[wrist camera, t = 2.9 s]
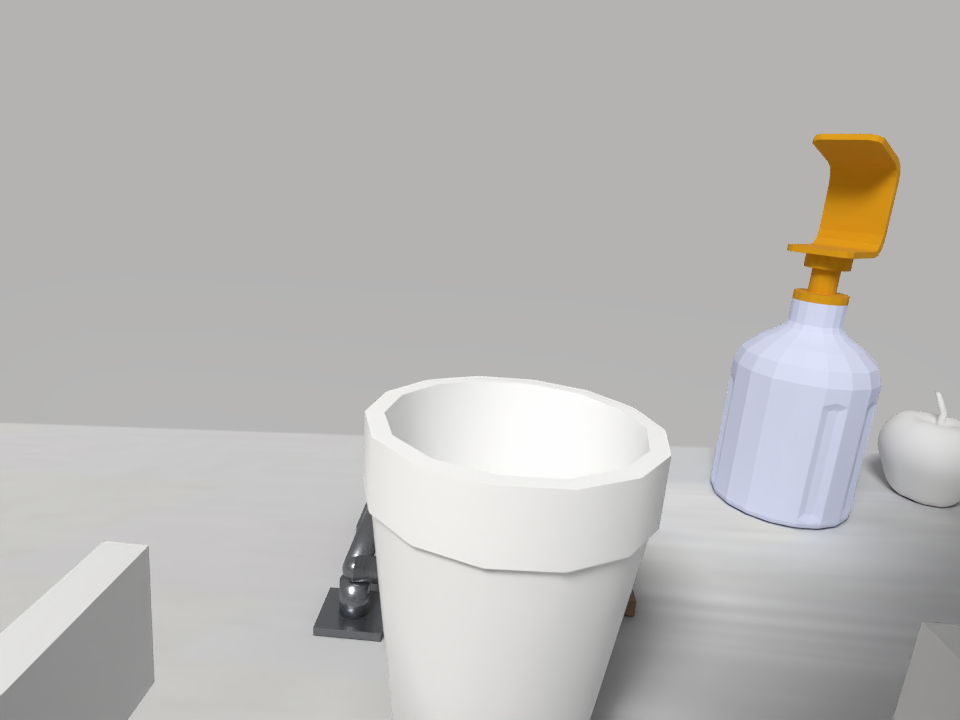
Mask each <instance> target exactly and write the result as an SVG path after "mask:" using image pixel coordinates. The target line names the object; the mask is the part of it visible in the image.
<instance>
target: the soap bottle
mask: <svg viewBox="0 0 960 720" xmlns="http://www.w3.org/2000/svg"><path fill="white" fill-rule="evenodd" d="M813 144H814V145H815V146H816V148H817V149H818V150H819V151H820V152H821V154H822V155H823V156H824V157H825V158H826V160H827V161H828V163H829V165H830V181H829V187H828V191H827V196H826V201H825V205H824V210H823V215H822V219H821V224H820V229H819V232H818V235H817V238H816V240H815V241H814V243H812V244H788V248H787V250H789V251H795V252H802V253H806V257H805V262H804V266H807V267H811V268H812V273H811V278H810V283H809V287H808V289H801V288H800V289H795V290H794V293H793V298H792V302H791V307H790V311H789V316H788V320H787V321H786V322H785V323H784V324H781V325H780V326H778V327H776V328H773V329H770V330H767V331H764V332H761V333H759V334H758V335H756V336H754V337H752V338H751V339H749V340H747V341H746V342H744V343H743V344H742V346H741V347H740V349H739V350H738V352H737V354H736V355H735V357H734V359H733V363H732V369H731V374H730V379H729V385H728V391H727V395H726V401H725V406H724V411H723V416H722V422H721V427H720V432H719V438H718V443H717V448H716V454H715V459H714V464H713V469H712V475H711V482H712V485H713V487H714V490H715V492H716V493H717V494H718V495H719V496H720V497H721V498H722V499H724V500H725V501H726V502H727V503H729V504H730V505H732V506H734V507H736V508H737V509H739V510H741V511H743V512H745V513H747V514H749V515H751V516H754V517H757V518H760V519H762V520H765V521H768V522H771V523H776V524H780V525H785V526H790V527H798V528H812V529H819V528H826V527H833V526H837V525H838V524H840V523H842V522H843V521H845V520H846V519H847V518H848V517H849V513H850V509H851V505H852V501H853V497H854V493H855V489H856V485H857V481H858V477H859V473H860V469H861V465H862V461H863V457H864V453H865V449H866V445H867V441H868V437H869V433H870V429H871V425H872V421H873V417H874V413H875V409H876V405H877V401H878V397H879V394H880V389H881V379H880V373H879V368H878V365H877V364H876V362H875V361H874V360H873V359H872V358H871V356H870V355H869V354H868V353H867V352H866V351H865V350H864V349H863V348H862V347H860V346H859V345H858V344H856V343H855V342H854V341H852V340H851V339H850V338H849V336H848V335H847V334H846V333H845V332H844V329H843V324H844V319H845V315H846V311H847V305H848V302H849V298H850V297H849V296H848V295H844V294H840V293H836V291H837V287H838V282H839V277H840V274H841V271H851V268H852V263H853V259H858V258H859V259H860V258H875V257H877V256H878V254H879V253H880V251H881V250H882V247H883V244H884V241H885V237H886V233H887V229H888V225H889V220H890V216H891V212H892V208H893V204H894V200H895V195H896V191H897V187H898V183H899V177H900V162H899V158H898V157H897V155H896V154H895V153H894V151H893V150H892V148H891V147H890V145H889V144H888V142H887V141H886V139H885V138H884V137H881V136H878V135H873V134H819V135H816V136H815V138H814V140H813Z"/></svg>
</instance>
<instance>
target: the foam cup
mask: <svg viewBox="0 0 960 720" xmlns="http://www.w3.org/2000/svg"><path fill="white" fill-rule="evenodd" d="M670 460H671V452H670V448H669V444H668V440H667V436H666V431H665V430H664V429H663V428H661V427H660V426H659V425H657V424H656V423H655V422H653V421H652V420H650V419H649V418H648V417H646V416H645V415H643V414H642V413H640V412H639V411H638V410H636V409H635V408H634V407H631V406H628V405H625V404H623V403H620V402H617V401H615V400H612V399H609V398H606V397H604V396H601V395H598V394H596V393H593V392H590V391H587V390H582V389H578V388H572V387H568V386H562V385H557V384H552V383H547V382H542V381H537V380H529V379H515V378H500V377H485V376H472V377H459V378H445V379H433V380H425V381H421V382H418V383H415V384H411V385H408V386H405V387H401V388H397V389H394V390H390V391H387V392H386V393H384V394H383V395H382V396H381V397H380V398H379V399H378V400H377V401H376V402H375V403H373V404H372V405H371V406H370V407H369V408H368V409H367V410H366V411H365V420H364V447H363V474H362V482H363V486H364V491H365V496H366V501H367V505H368V510H369V513H370V514H371V515H372V521H373V531H374V541H375V551H376V561H377V571H378V581H379V591H380V601H381V611H382V621H383V631H384V641H385V651H386V661H387V672H388V682H389V692H390V702H391V712H392V720H590V718H591V715H592V712H593V709H594V706H595V703H596V700H597V697H598V693H599V690H600V687H601V684H602V681H603V678H604V675H605V672H606V669H607V666H608V662H609V659H610V656H611V653H612V650H613V647H614V644H615V641H616V638H617V634H618V631H619V628H620V625H621V622H622V619H623V616H624V613H625V610H626V607H627V603H628V600H629V597H630V594H631V591H632V588H633V585H634V582H635V579H636V576H637V572H638V569H639V566H640V563H641V560H642V557H643V554H644V551H645V548H646V544H647V541H648V539H649V538H650V537H651V536H652V535H653V534H654V533H655V532H656V531H657V530H658V529H659V525H660V519H661V513H662V507H663V502H664V496H665V490H666V484H667V478H668V472H669V466H670Z"/></svg>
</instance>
